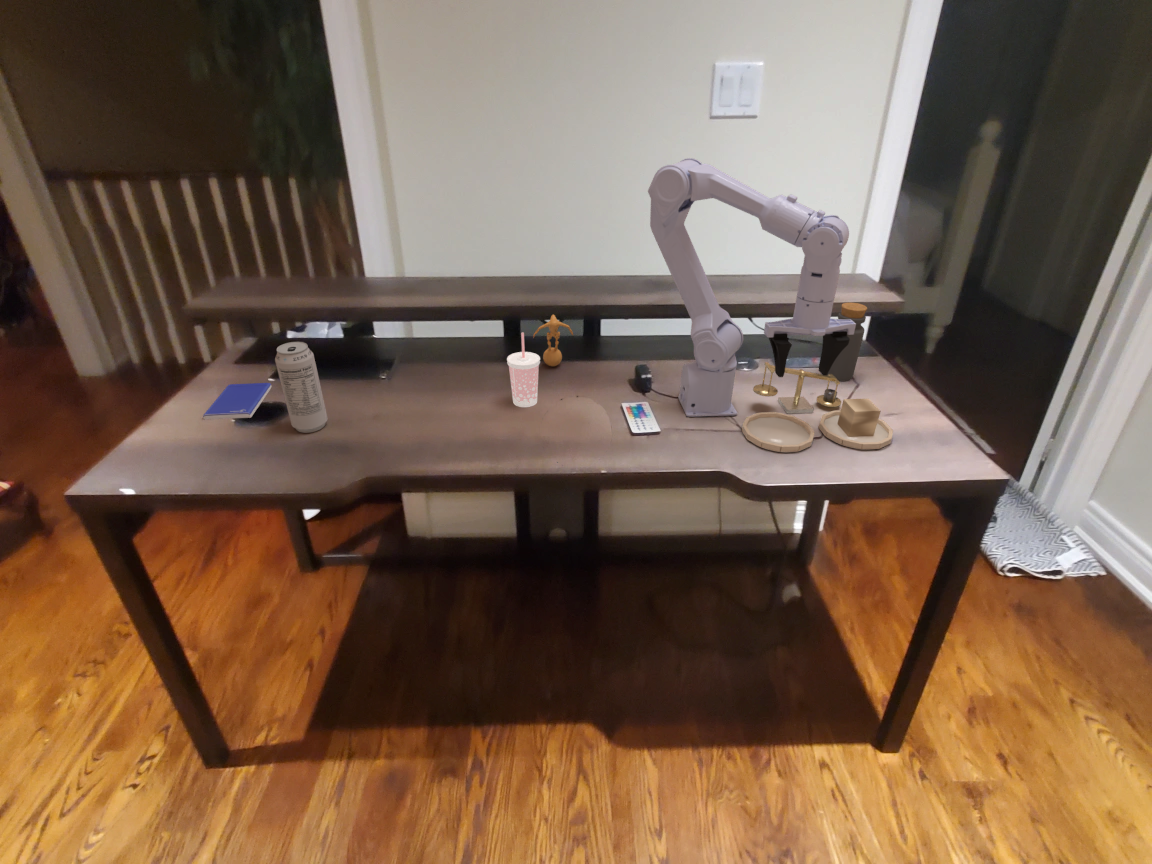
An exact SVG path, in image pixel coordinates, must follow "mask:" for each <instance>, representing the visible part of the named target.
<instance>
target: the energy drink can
mask: <svg viewBox="0 0 1152 864" xmlns="http://www.w3.org/2000/svg"><path fill="white" fill-rule="evenodd" d="M315 360H316V359H315V355H314V352H313V351H312V350H311V349H310V348H309V347H308V344H307V343H306V342H304V341H291V342H286V343H283V344H281V345H279V346H277V348H276V355H275V358H274V362H275V365H276V369H277V374H278V378H279V381H280V384H281V390H282V392H283V396H284V400H285V404H286V409H287V412H288V417H289V420H290V424H291V427H292V428H294V429H295V430H296V431H297V432H299V433H305V434H306V433H307V434H308V433H309V434H310V433H313V432H317V431H320V430H321V429H323V428H325V426H326V423H327V421H328V414H327V410H326V404H325V401H324V395H323V392H322V391H323V390H322V387H321V382H320V377H319V372H318V369H317V364H316V363H317V362H316V361H315Z"/></svg>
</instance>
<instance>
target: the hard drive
mask: <svg viewBox="0 0 1152 864" xmlns="http://www.w3.org/2000/svg"><path fill="white" fill-rule="evenodd" d="M271 388H272V384H271V383H270V382H257V383H256V382H255V383H233V384H232V383H231V384H228V385H226V387H225V389H224V390H223V391H222V392H221V393H220V394H219V396H218V397H217V398H216V399H215V400H214V401H213V403H212V404H211V405H210V407H208V409H207V410H206V411H205V412H204V413H203V415H202V418H203V420H223V419H224V420H225V419H228V420H229V419H248V418H249V419H250V418H252V417H253V415H254V414H255V412H256V411H257V409H258V408H259V407H260V405H261V404H262V402H263V400H264V399H266V396H267V394H269V392H270V391H271Z"/></svg>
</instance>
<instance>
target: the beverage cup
mask: <svg viewBox="0 0 1152 864" xmlns="http://www.w3.org/2000/svg"><path fill="white" fill-rule="evenodd" d="M520 335H521V336H520V337H521V351H519V352H514V353H511V354H509V355H508V356H507V357H506V361H507V362H506V364H507V365H508V370H509V379H510V380H509V381H510V387H511V397H512V402H513V404H514V405H515V406H516V407H519V408H529V407H533V406H535V405H537V403H538V394H539V393H538V391H539V390H538V388H539V372H540V371H539V367H540V364H541V356H540V355H539V354H537V353H534V352H531V351H526V350H525V332H521V333H520Z"/></svg>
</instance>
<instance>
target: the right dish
mask: <svg viewBox="0 0 1152 864" xmlns="http://www.w3.org/2000/svg"><path fill="white" fill-rule="evenodd" d="M840 411H841V409H837V410H832V411H831V410H830V411H828V412H827V413H826V412H825V413H824V414H822V415H821V418H820V421H819V425H818V429H819V430H820V431H821V432H822V434H823V436H825V437H826V438H827V439H829V440H831V441H832V442H834V443H836V444H838V445H840V446H844V447H847V448H850V449H855V450H856V449H857V450H865V451H866V450H867V451H871V450H880V449H882V448H883V447H886V446H888V445H890V444H891V442H892V439H893V432H894V430H893V428H892V427H890V425H889V424H888V423H887V422H886V421H884V420H883V419H880V418H879V419H878V422H877V426H876V429H875V433H874V436H861V437H848V436H847V435H846V434H845V432H844V431H843V430H842V429H841V428H840V426H839V425H838V424H837V423H838V419H839V415H840Z"/></svg>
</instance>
